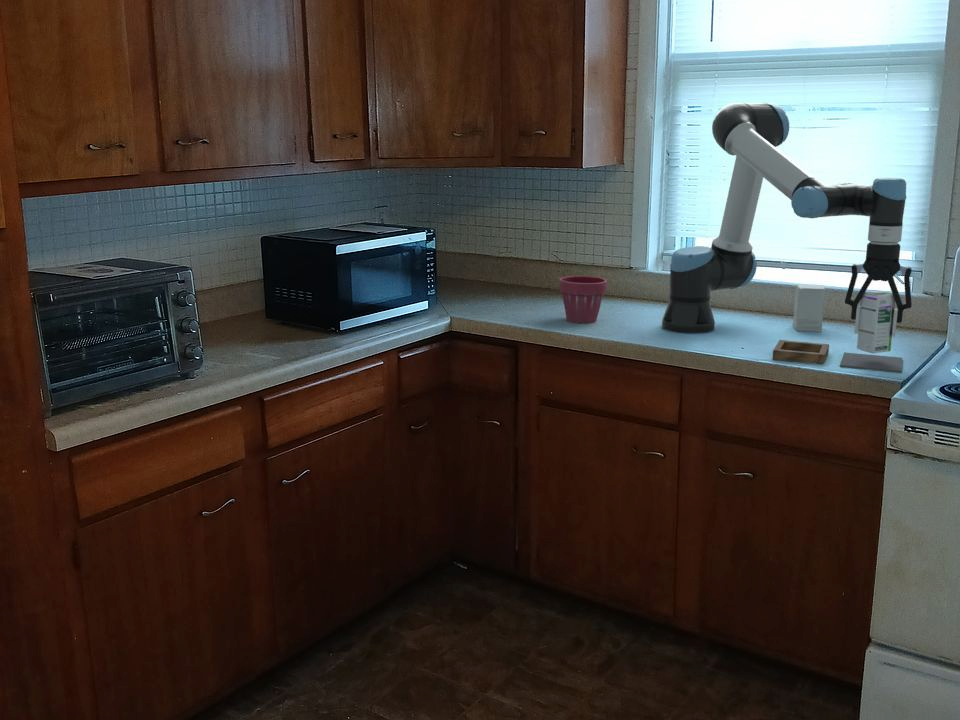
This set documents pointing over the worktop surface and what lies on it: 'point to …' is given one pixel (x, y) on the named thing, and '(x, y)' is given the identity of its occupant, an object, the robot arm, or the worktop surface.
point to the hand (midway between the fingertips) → (874, 333)
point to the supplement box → (808, 307)
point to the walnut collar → (801, 352)
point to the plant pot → (582, 297)
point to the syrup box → (876, 322)
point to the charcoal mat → (871, 362)
